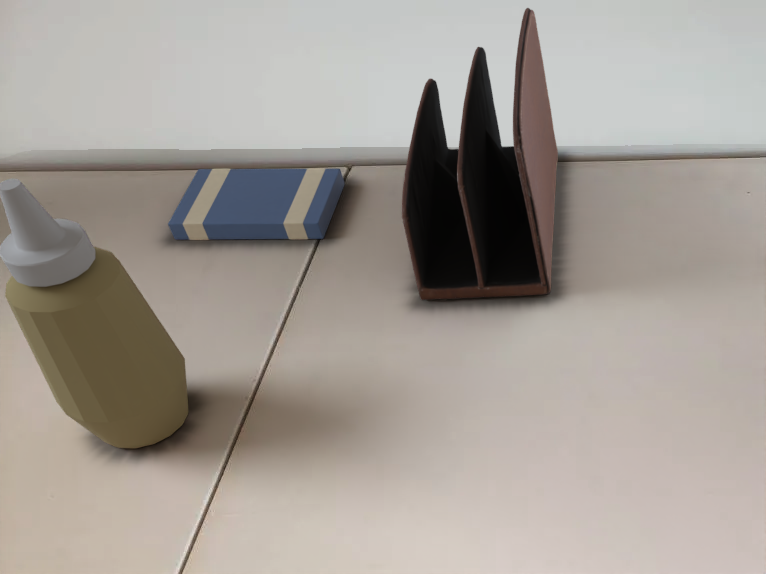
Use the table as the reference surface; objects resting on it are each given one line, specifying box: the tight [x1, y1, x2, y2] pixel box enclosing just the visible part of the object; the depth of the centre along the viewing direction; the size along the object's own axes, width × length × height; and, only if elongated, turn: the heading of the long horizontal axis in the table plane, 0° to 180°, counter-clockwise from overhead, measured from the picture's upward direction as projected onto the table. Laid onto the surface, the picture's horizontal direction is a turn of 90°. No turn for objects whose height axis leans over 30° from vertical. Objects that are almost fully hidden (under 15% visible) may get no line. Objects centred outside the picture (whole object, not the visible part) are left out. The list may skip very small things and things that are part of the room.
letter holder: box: [401, 7, 559, 301], centre depth 82 cm, size 10×20×14 cm, turn 4°
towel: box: [167, 167, 346, 241], centre depth 88 cm, size 8×12×2 cm, turn 90°
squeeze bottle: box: [0, 177, 190, 449], centre depth 66 cm, size 8×8×18 cm
